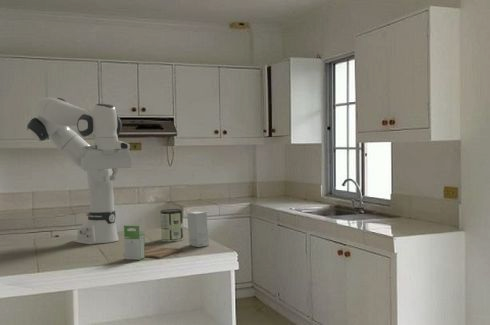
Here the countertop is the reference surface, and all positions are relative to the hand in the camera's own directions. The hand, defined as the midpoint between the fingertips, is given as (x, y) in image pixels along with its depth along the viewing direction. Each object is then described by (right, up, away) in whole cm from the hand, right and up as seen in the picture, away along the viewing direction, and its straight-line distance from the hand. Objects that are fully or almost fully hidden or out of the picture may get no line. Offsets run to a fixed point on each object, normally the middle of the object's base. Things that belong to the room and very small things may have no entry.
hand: (107, 180), depth 207 cm
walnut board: (+16, -30, +12) cm, 36 cm away
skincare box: (+33, -30, +27) cm, 52 cm away
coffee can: (+19, -30, +43) cm, 56 cm away
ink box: (+10, -31, +1) cm, 33 cm away
